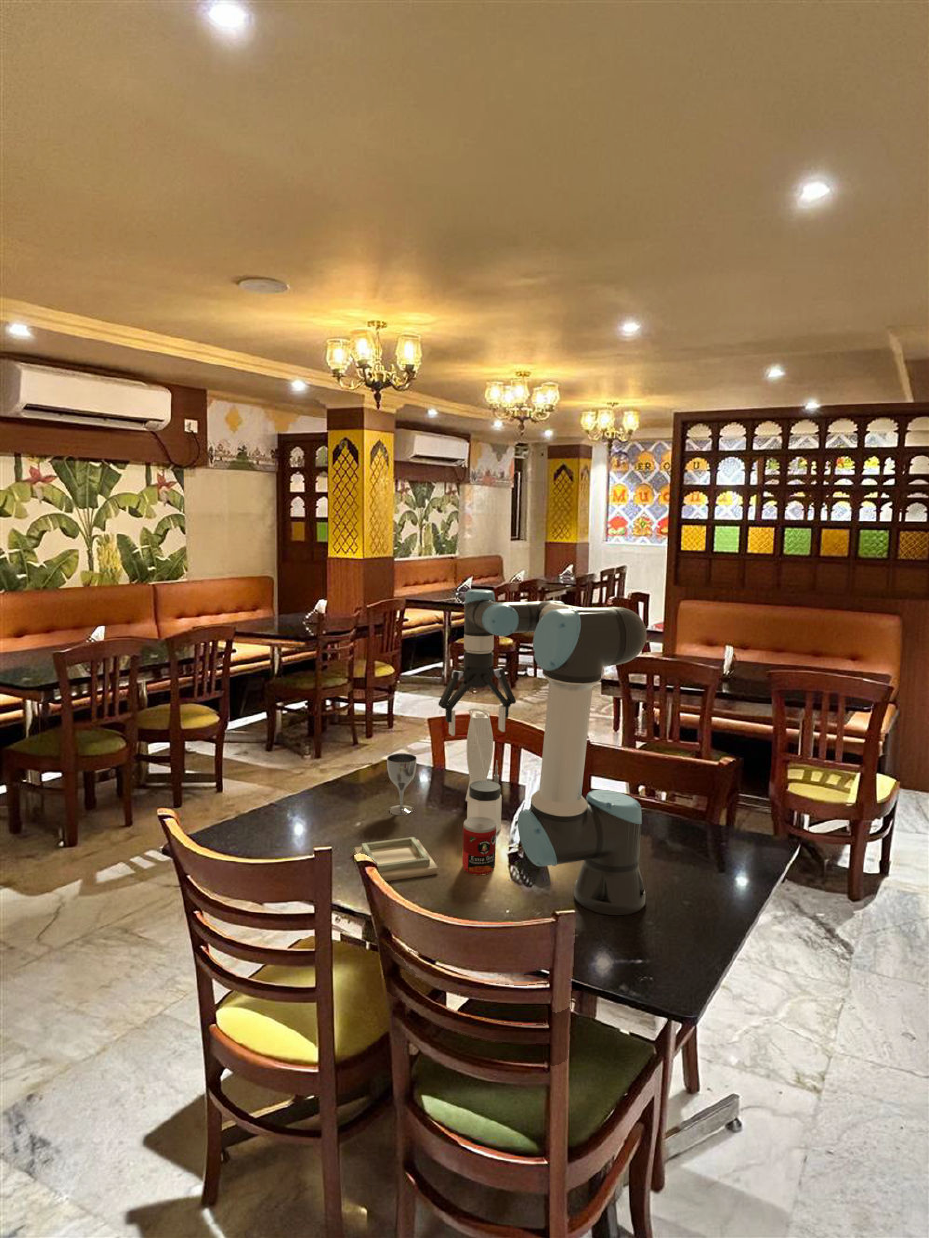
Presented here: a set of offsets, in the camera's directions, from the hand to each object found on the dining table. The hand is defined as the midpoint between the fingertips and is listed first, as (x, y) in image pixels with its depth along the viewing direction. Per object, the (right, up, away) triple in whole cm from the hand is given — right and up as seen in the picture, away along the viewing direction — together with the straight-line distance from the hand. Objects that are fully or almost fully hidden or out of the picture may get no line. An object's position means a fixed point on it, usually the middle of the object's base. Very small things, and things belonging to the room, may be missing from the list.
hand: (476, 732), depth 207 cm
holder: (-20, -28, -17) cm, 39 cm away
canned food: (0, -29, -19) cm, 35 cm away
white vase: (+1, -23, +23) cm, 32 cm away
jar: (+2, -26, +3) cm, 26 cm away
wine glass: (-21, -24, +15) cm, 35 cm away
